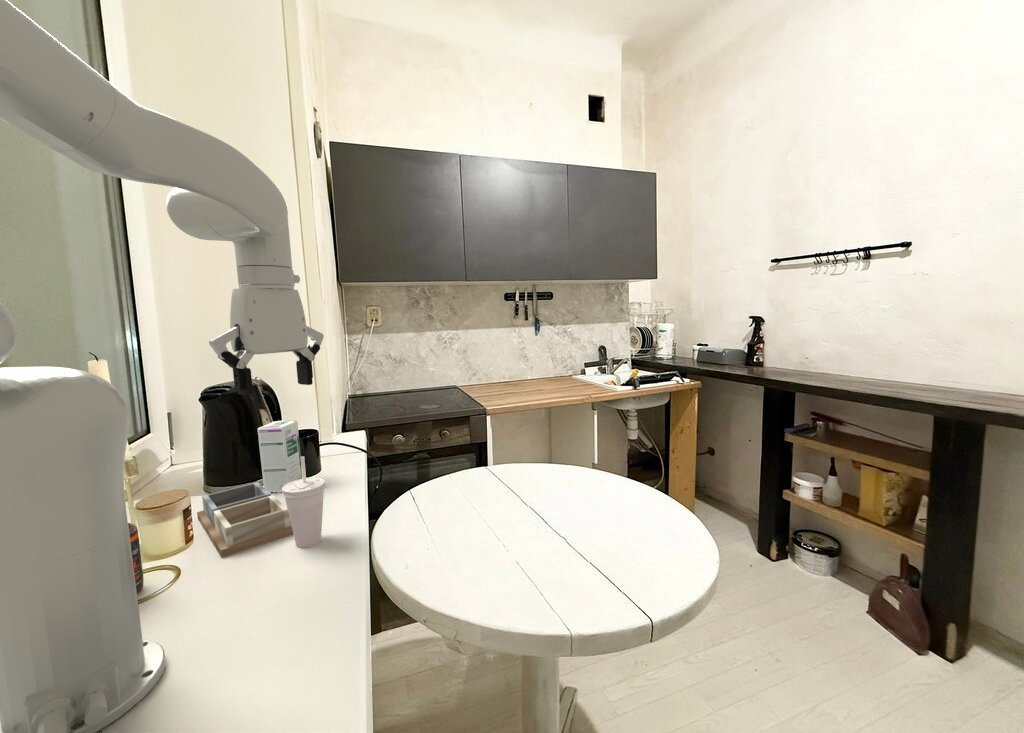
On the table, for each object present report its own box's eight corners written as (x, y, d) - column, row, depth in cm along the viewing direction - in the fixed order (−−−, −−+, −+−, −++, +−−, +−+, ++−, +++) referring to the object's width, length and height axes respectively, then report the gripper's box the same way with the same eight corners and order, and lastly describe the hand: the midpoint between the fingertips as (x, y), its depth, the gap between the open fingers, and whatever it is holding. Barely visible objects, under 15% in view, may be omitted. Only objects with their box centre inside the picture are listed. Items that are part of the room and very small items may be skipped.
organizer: (297, 531, 73) (295, 508, 72) (221, 557, 65) (218, 531, 65) (263, 500, 87) (261, 480, 86) (197, 518, 79) (195, 496, 79)
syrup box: (290, 493, 90) (284, 425, 89) (262, 493, 90) (256, 426, 89) (303, 483, 96) (298, 419, 95) (277, 483, 96) (272, 420, 95)
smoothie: (331, 529, 73) (325, 450, 72) (327, 547, 67) (321, 461, 66) (290, 536, 71) (283, 454, 70) (282, 555, 65) (274, 466, 64)
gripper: (304, 284, 76) (312, 380, 78) (191, 279, 61) (205, 396, 63) (330, 281, 72) (338, 382, 74) (216, 275, 57) (230, 400, 59)
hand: (277, 388), depth 68 cm, fingers open, 9 cm apart
